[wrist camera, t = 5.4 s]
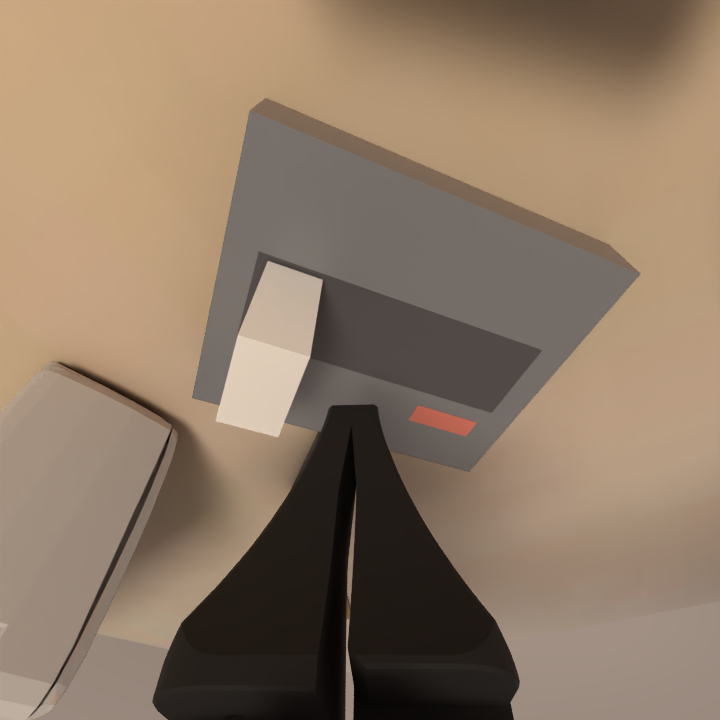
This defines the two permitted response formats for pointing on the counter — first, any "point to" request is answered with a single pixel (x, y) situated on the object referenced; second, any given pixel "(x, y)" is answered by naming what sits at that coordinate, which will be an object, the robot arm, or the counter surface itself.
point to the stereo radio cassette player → (68, 524)
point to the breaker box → (404, 287)
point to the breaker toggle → (271, 351)
